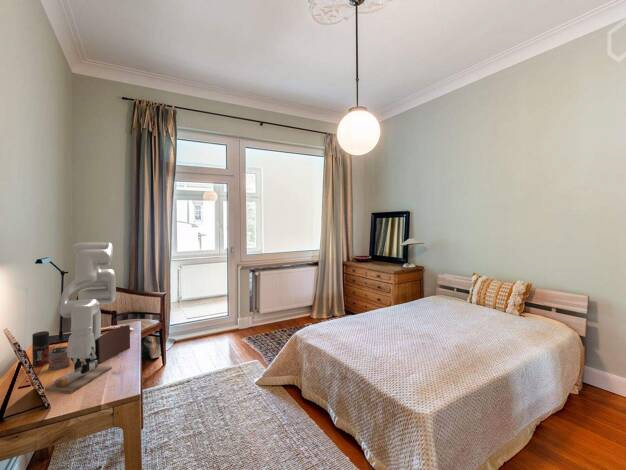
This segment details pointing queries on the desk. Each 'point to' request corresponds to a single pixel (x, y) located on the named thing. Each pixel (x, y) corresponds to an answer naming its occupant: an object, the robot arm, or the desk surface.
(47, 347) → the deodorant
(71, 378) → the tongs arm
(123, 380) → the desk surface
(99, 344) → the letter holder
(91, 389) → the desk surface
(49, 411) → the desk surface
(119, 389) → the desk surface
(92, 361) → the tongs fixed
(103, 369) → the board
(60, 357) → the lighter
